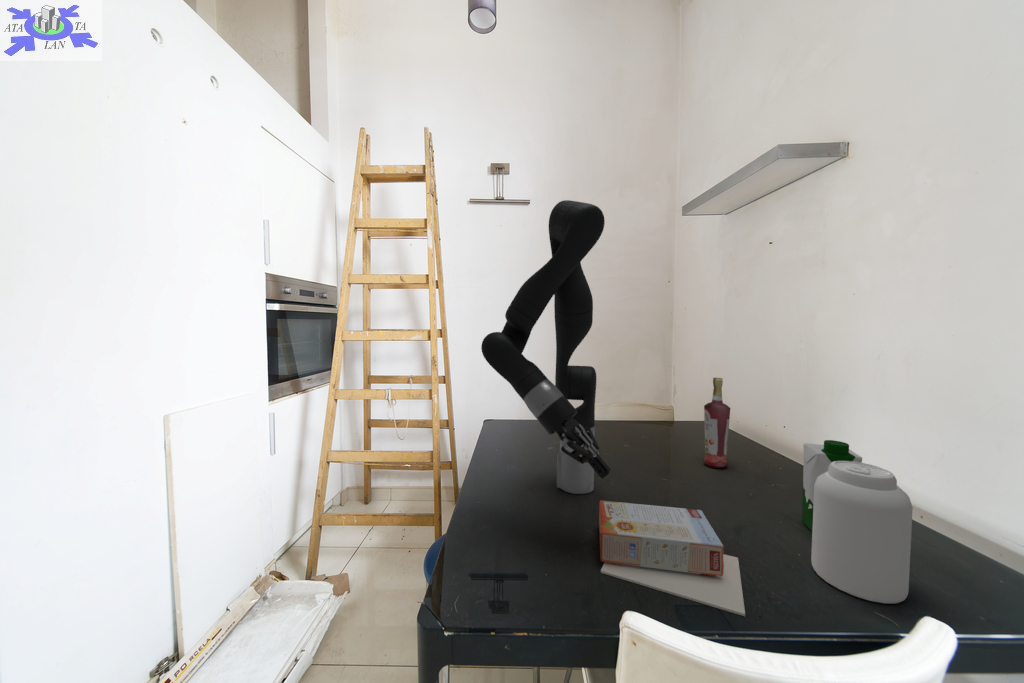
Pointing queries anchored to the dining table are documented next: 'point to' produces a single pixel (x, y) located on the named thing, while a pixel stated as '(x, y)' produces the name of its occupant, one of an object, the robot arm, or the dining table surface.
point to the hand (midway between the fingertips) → (606, 474)
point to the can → (862, 532)
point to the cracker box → (659, 538)
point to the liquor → (716, 428)
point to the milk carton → (820, 470)
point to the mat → (689, 583)
